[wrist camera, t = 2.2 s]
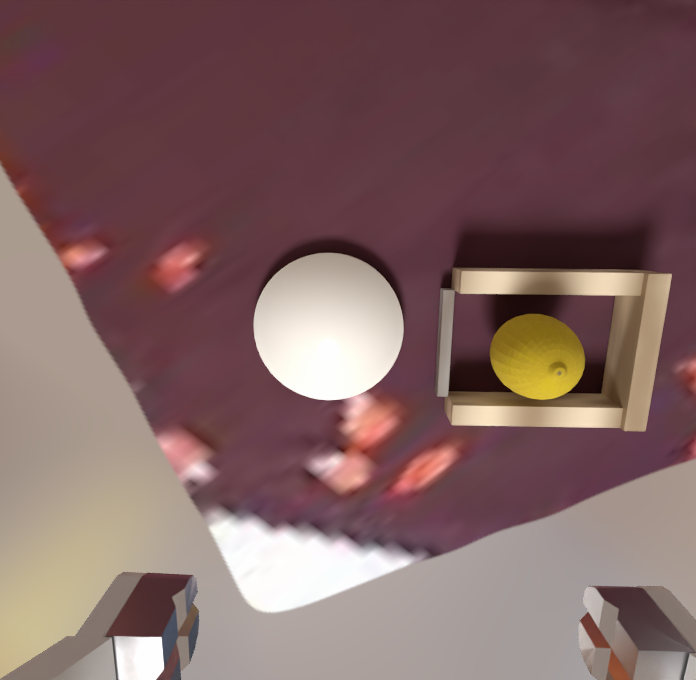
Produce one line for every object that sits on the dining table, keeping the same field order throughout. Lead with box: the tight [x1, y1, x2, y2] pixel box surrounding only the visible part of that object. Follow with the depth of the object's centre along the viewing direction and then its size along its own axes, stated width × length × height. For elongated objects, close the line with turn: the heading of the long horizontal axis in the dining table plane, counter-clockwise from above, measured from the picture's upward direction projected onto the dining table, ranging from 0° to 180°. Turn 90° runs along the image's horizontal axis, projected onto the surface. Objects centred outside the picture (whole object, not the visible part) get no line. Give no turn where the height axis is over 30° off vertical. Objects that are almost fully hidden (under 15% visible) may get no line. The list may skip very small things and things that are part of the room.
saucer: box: [254, 252, 404, 400], centre depth 34 cm, size 11×11×1 cm
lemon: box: [490, 314, 585, 400], centre depth 31 cm, size 6×6×8 cm
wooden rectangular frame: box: [435, 268, 672, 431], centre depth 33 cm, size 14×11×4 cm
